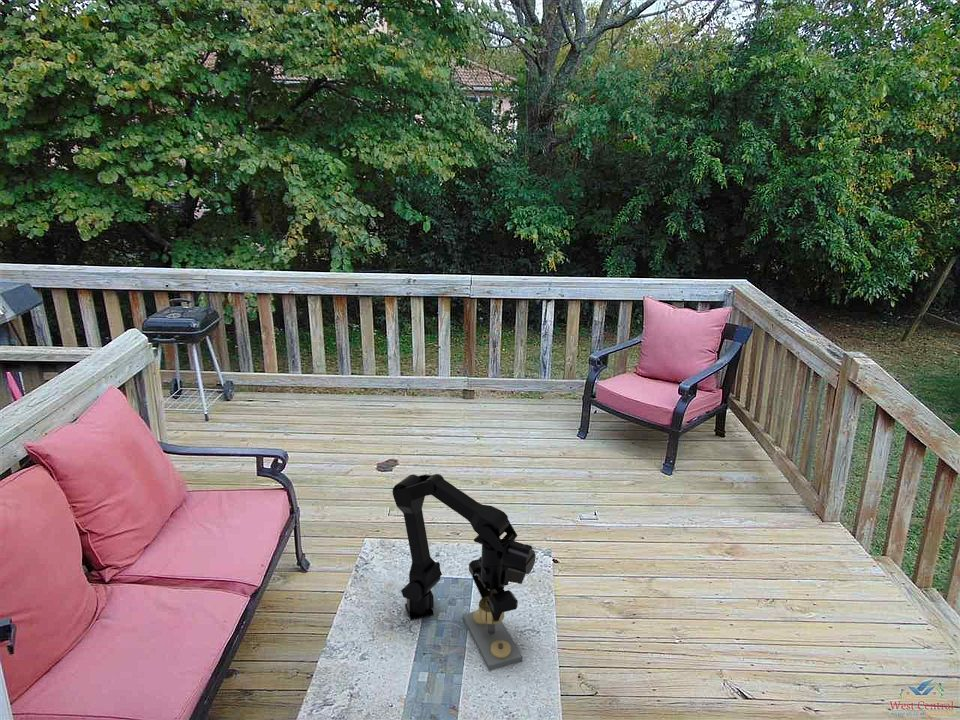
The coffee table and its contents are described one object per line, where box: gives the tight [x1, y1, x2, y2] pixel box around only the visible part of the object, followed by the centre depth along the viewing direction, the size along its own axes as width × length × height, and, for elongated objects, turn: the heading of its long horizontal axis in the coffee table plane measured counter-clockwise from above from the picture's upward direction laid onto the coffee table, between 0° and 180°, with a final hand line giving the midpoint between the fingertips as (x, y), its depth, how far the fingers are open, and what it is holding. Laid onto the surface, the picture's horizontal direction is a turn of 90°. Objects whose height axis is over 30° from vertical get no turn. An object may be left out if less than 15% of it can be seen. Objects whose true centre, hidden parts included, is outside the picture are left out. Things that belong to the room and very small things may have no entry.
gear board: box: [461, 608, 524, 672], centre depth 168 cm, size 9×20×6 cm, turn 21°
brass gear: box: [478, 596, 505, 624], centre depth 166 cm, size 6×6×4 cm
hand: (491, 612), depth 166 cm, fingers closed on brass gear, 6 cm apart
